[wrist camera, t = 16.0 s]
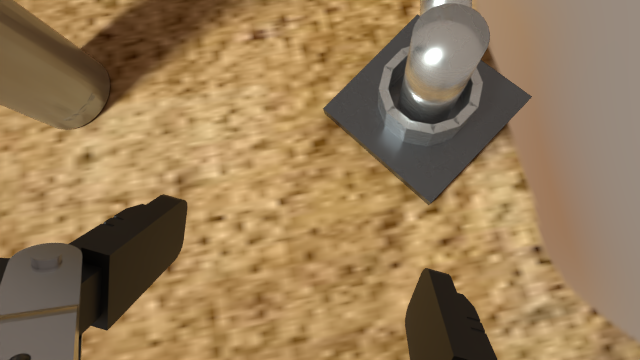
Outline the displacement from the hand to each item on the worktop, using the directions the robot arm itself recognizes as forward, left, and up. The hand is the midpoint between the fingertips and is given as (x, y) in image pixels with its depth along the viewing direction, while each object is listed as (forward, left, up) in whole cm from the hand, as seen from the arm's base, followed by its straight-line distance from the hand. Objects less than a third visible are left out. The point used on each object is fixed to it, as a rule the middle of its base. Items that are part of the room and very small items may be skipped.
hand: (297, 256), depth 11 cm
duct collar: (-5, +16, -22) cm, 28 cm away
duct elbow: (-6, +18, -21) cm, 28 cm away
